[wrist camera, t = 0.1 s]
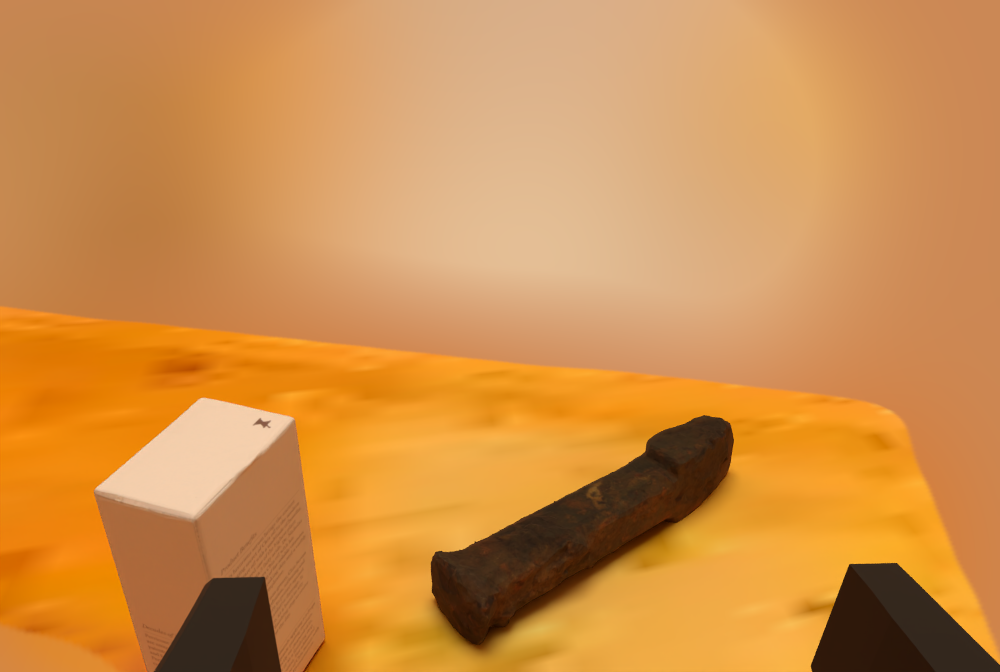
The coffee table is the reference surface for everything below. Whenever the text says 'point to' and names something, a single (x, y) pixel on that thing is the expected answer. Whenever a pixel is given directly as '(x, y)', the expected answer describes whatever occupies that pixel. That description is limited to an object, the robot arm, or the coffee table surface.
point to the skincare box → (214, 525)
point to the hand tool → (580, 527)
